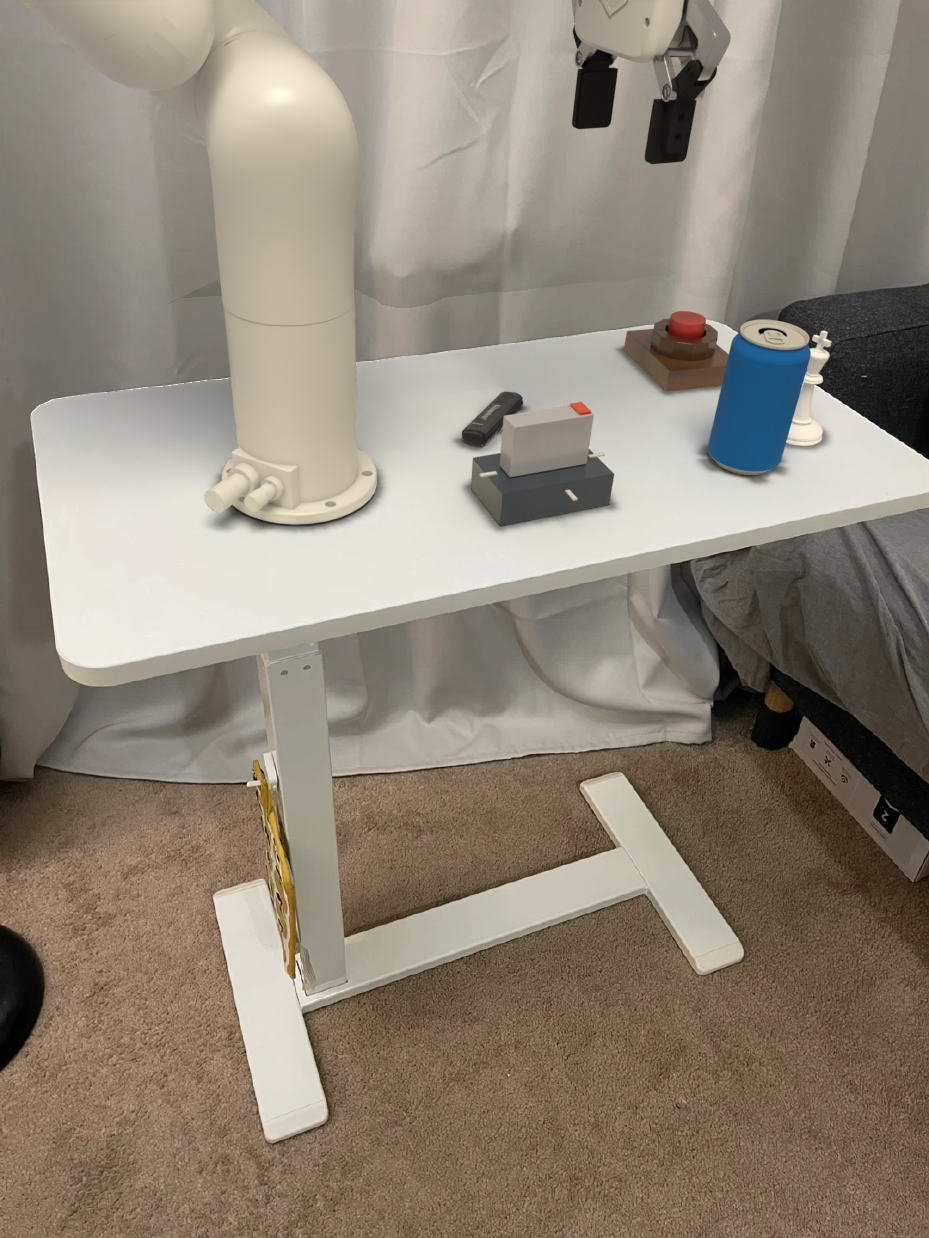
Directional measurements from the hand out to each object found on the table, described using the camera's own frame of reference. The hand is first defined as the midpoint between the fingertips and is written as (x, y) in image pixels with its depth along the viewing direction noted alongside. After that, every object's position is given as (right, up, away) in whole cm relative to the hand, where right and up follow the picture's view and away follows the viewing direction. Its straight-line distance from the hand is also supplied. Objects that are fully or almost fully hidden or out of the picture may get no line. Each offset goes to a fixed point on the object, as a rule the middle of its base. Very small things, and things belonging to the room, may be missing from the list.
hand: (626, 144), depth 73 cm
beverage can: (+13, -21, +17) cm, 30 cm away
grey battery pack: (-5, -22, +8) cm, 24 cm away
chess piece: (+19, -17, +21) cm, 34 cm away
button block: (+11, -8, +32) cm, 34 cm away
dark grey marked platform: (-6, -25, +10) cm, 27 cm away
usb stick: (-9, -17, +20) cm, 28 cm away
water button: (+11, -6, +29) cm, 32 cm away
